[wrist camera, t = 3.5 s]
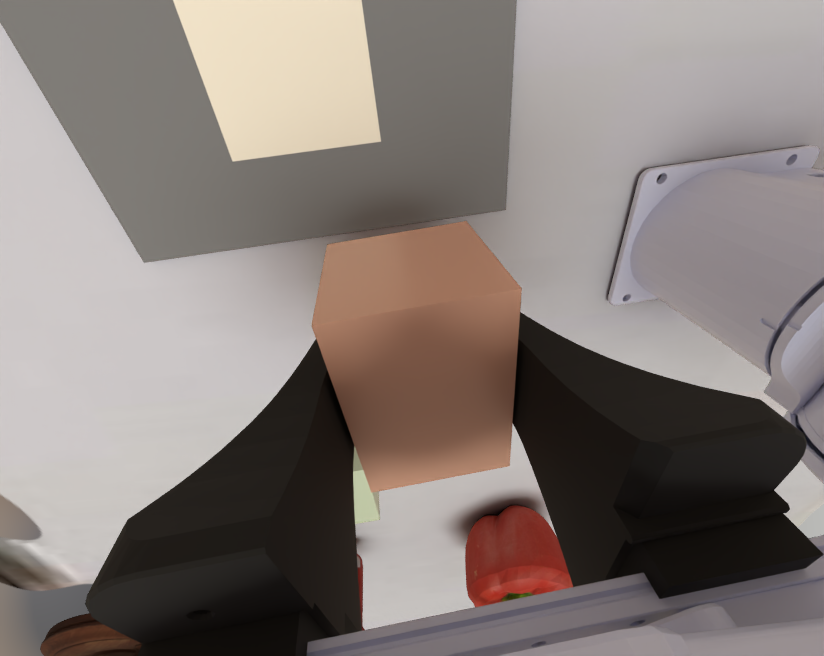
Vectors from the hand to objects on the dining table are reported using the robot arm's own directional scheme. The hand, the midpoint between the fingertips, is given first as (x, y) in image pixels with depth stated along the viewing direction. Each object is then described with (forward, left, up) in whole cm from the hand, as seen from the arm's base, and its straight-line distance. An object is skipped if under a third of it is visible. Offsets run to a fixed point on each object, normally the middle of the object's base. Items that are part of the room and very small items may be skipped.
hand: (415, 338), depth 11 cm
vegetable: (-7, +32, -9) cm, 34 cm away
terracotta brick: (0, 0, -2) cm, 2 cm away
